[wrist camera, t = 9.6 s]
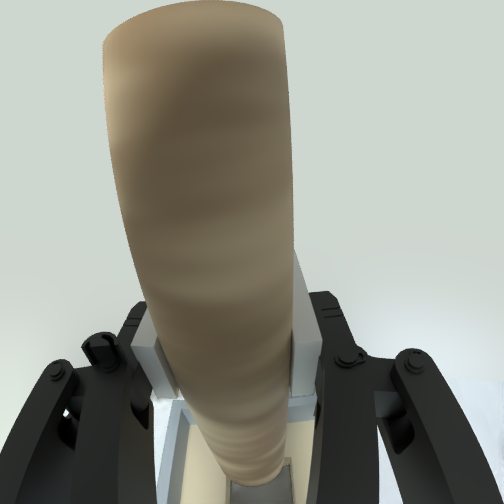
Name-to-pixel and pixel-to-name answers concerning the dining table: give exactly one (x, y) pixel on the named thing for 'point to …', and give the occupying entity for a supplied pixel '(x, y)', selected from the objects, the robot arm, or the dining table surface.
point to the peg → (211, 212)
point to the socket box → (207, 468)
